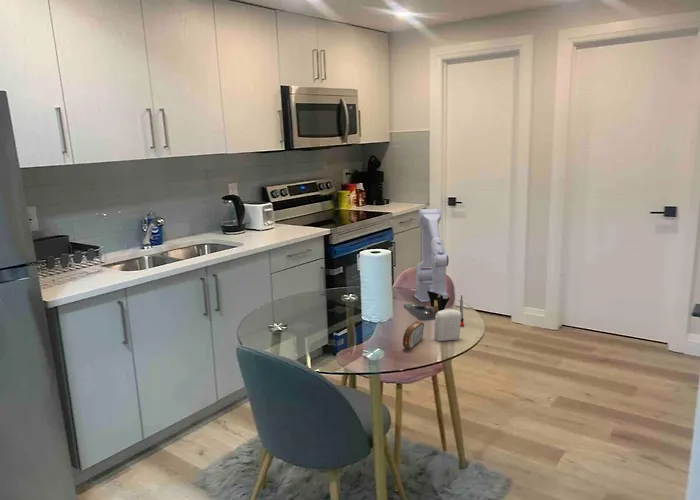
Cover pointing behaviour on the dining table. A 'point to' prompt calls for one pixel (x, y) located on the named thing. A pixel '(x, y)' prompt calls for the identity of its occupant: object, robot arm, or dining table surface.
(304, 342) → the dining table surface
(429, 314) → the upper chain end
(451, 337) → the photo printer
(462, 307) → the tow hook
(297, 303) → the dining table surface
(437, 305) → the pin
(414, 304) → the lower chain end
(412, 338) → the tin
